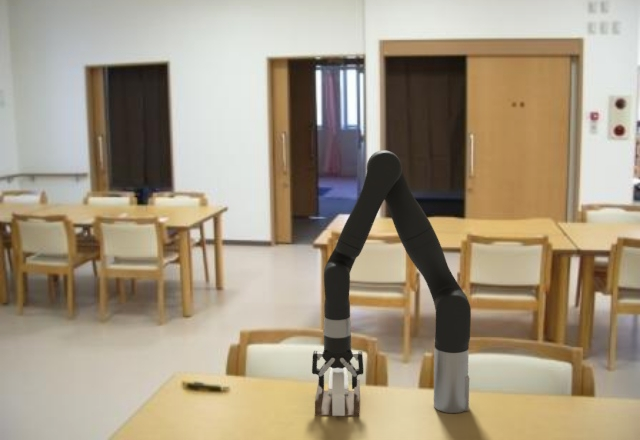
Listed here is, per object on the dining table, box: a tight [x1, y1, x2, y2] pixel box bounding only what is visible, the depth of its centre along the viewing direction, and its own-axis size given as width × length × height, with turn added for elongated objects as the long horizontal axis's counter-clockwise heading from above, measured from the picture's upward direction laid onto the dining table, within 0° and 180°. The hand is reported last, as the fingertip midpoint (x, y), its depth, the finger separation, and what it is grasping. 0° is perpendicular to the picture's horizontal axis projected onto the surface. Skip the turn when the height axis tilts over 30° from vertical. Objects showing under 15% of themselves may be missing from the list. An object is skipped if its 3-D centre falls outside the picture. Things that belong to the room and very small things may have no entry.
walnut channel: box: [314, 379, 361, 417], centre depth 203 cm, size 12×16×4 cm
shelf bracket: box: [327, 367, 350, 417], centre depth 204 cm, size 6×25×13 cm, turn 178°
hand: (337, 387), depth 202 cm, fingers open, 8 cm apart
